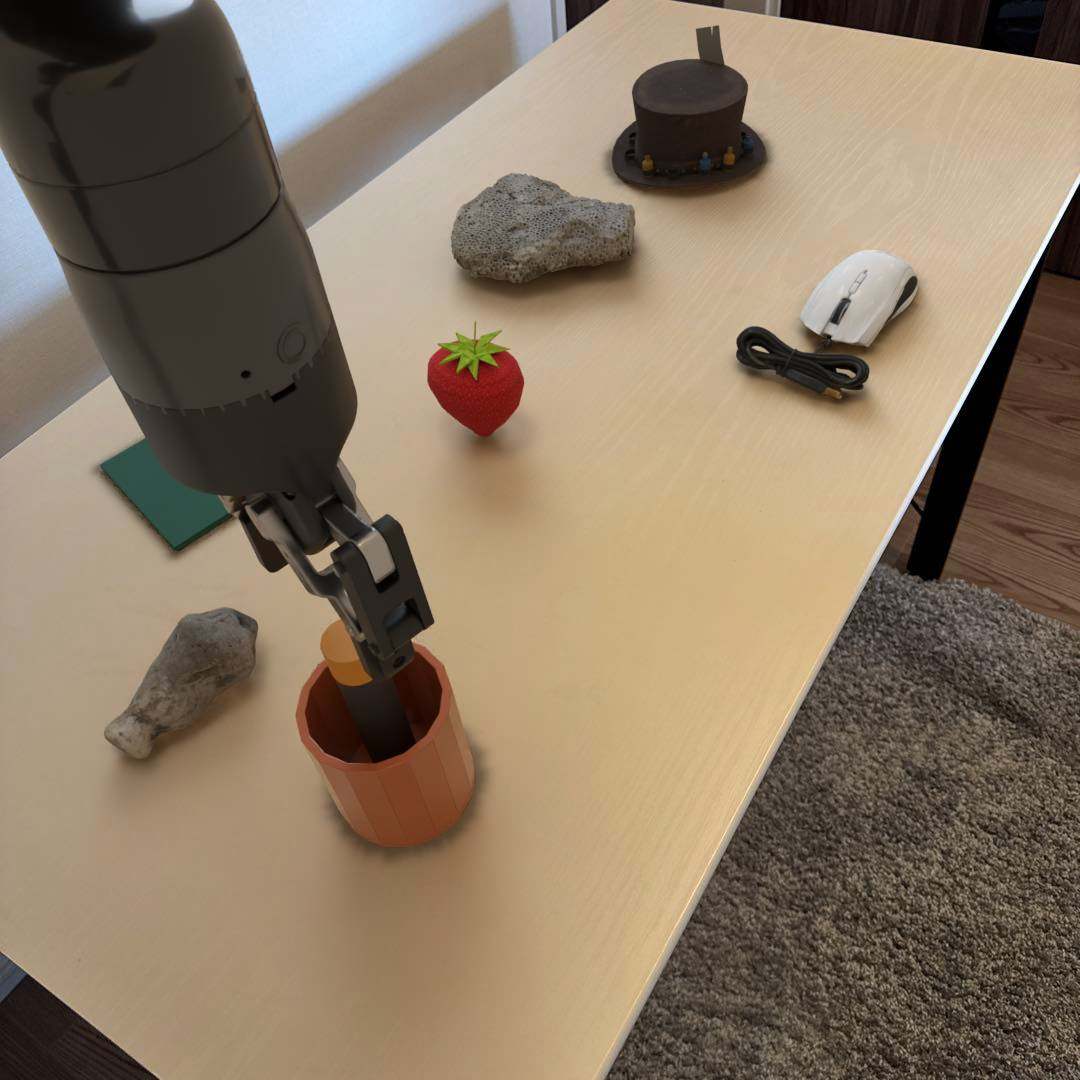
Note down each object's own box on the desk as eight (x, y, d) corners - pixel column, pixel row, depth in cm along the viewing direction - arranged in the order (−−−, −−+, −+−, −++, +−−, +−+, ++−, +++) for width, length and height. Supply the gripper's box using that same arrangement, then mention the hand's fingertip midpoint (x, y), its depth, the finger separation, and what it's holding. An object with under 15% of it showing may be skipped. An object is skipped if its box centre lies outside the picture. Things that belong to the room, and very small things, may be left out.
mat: (176, 552, 72) (173, 547, 72) (101, 469, 79) (99, 464, 78) (315, 463, 77) (313, 458, 77) (234, 391, 83) (232, 387, 83)
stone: (136, 786, 62) (203, 745, 57) (67, 726, 60) (130, 678, 56) (226, 679, 69) (291, 635, 65) (167, 623, 68) (229, 574, 63)
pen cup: (392, 876, 56) (355, 803, 49) (312, 781, 60) (267, 701, 53) (502, 782, 59) (482, 700, 52) (418, 697, 63) (389, 611, 56)
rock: (630, 301, 86) (629, 250, 83) (444, 303, 88) (435, 254, 85) (638, 203, 96) (637, 154, 92) (469, 207, 98) (462, 159, 94)
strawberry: (465, 394, 81) (445, 289, 73) (546, 423, 78) (534, 317, 70) (422, 441, 78) (396, 337, 70) (505, 473, 75) (488, 368, 67)
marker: (399, 807, 58) (341, 673, 47) (372, 776, 59) (308, 639, 48) (437, 777, 59) (387, 639, 48) (409, 747, 60) (355, 606, 49)
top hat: (785, 184, 96) (796, 74, 88) (628, 209, 95) (625, 101, 87) (741, 108, 105) (748, 3, 97) (599, 131, 105) (594, 27, 97)
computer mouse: (947, 284, 84) (958, 243, 81) (849, 415, 75) (857, 374, 72) (834, 250, 88) (840, 209, 85) (729, 370, 80) (732, 329, 77)
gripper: (26, 292, 36) (188, 572, 49) (230, 494, 29) (360, 764, 41) (208, 201, 39) (317, 487, 51) (436, 363, 32) (500, 653, 44)
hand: (336, 610), depth 46 cm, fingers open, 8 cm apart
